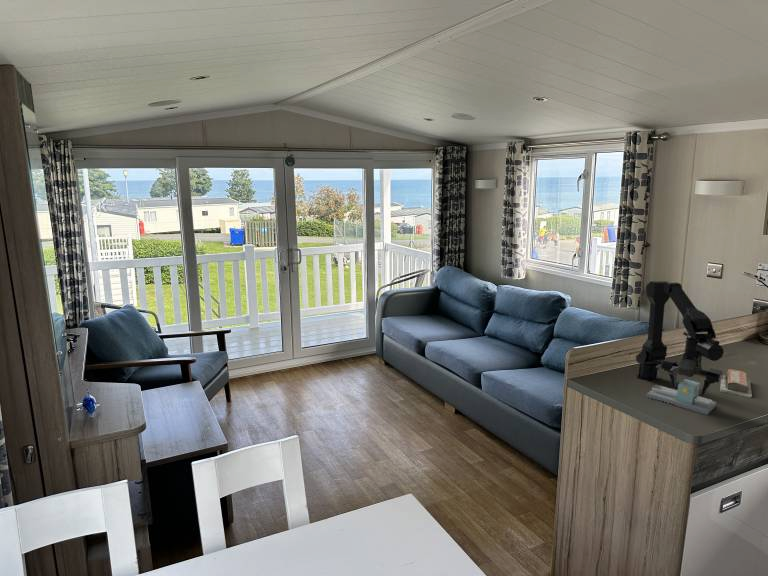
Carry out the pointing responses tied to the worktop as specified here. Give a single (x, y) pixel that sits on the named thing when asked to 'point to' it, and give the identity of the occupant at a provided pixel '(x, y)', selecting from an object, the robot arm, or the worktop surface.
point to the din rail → (673, 393)
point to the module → (687, 391)
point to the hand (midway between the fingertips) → (688, 392)
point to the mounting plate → (681, 404)
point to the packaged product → (736, 383)
